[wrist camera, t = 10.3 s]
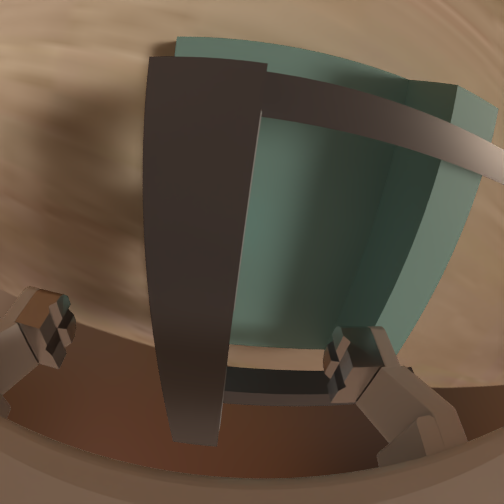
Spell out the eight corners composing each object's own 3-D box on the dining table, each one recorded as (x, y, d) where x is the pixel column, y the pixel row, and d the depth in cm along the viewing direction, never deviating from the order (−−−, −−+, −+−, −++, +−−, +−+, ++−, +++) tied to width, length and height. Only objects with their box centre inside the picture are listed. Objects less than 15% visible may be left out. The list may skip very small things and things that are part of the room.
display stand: (183, 40, 11) (149, 20, 7) (446, 99, 12) (509, 116, 8) (172, 324, 20) (158, 384, 15) (361, 337, 21) (380, 392, 16)
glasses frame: (189, 67, 7) (147, 56, 4) (513, 157, 8) (578, 196, 5) (182, 374, 15) (172, 441, 11) (402, 379, 16) (421, 432, 12)
